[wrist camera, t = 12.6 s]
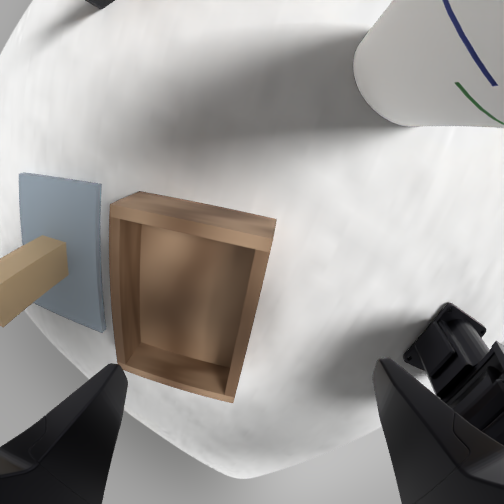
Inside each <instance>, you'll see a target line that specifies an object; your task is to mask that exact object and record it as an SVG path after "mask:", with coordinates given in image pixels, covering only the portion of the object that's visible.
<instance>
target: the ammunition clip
mask: <svg viewBox="0 0 504 504" xmlns="http://www.w3.org/2000/svg"><path fill="white" fill-rule="evenodd" d="M85 1H87V2H89V3H91V4H92V5H94V6H96V7H98V8H99V9H103V8H105V7H106V6H107V5H109V4H110V3H112V2H113V1H115V0H85Z"/></svg>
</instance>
